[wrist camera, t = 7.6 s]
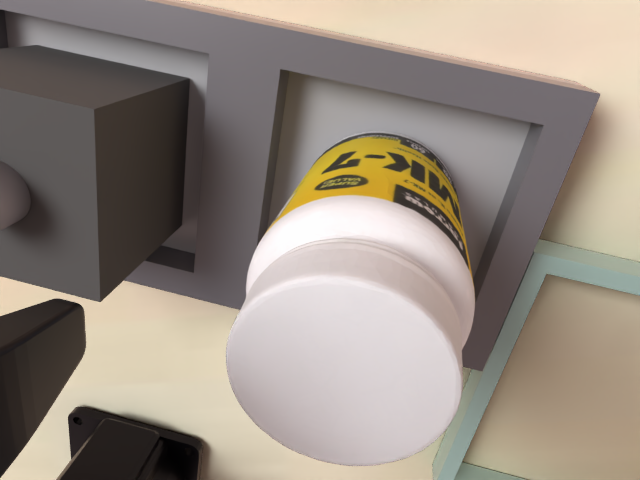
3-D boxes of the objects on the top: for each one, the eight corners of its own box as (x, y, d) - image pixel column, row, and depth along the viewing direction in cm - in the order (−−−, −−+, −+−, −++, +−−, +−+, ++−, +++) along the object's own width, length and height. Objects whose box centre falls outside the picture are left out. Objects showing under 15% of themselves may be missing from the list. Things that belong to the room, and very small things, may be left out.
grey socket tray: (475, 331, 18) (482, 371, 16) (22, 219, 20) (-22, 243, 18) (574, 81, 14) (600, 93, 12) (-6, -38, 15) (-67, -44, 14)
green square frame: (700, 537, 20) (715, 566, 19) (432, 464, 21) (433, 489, 20) (887, 319, 15) (922, 342, 14) (526, 236, 16) (534, 252, 15)
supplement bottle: (483, 159, 14) (553, 325, 7) (420, 287, 17) (422, 520, 9) (328, 104, 15) (234, 209, 7) (286, 238, 17) (180, 428, 9)
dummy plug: (182, 225, 17) (71, 329, 12) (49, 193, 18) (-120, 278, 12) (189, 78, 15) (57, 120, 9) (36, 44, 15) (-177, 67, 10)
